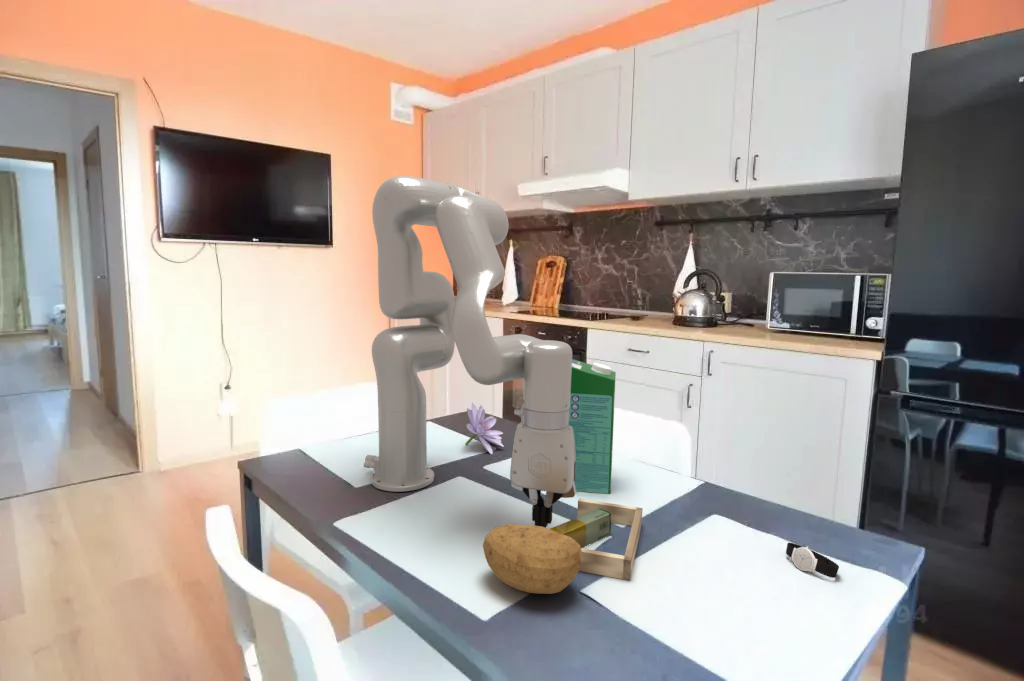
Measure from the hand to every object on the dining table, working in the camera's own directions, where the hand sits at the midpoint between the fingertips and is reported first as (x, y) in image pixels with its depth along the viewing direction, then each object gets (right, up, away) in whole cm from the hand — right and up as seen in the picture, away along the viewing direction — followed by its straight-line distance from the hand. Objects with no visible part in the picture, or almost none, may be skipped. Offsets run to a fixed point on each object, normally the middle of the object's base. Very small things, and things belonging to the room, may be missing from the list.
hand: (541, 525), depth 89 cm
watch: (+39, -3, -9) cm, 41 cm away
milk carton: (+11, +1, +22) cm, 24 cm away
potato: (-2, -3, -15) cm, 15 cm away
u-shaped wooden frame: (+9, -2, -3) cm, 9 cm away
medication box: (+6, -2, -3) cm, 7 cm away
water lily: (-12, +4, +43) cm, 45 cm away
